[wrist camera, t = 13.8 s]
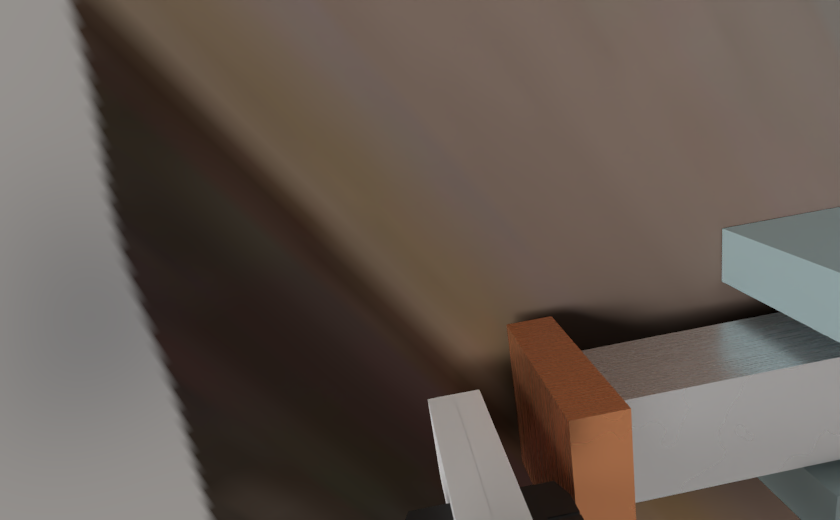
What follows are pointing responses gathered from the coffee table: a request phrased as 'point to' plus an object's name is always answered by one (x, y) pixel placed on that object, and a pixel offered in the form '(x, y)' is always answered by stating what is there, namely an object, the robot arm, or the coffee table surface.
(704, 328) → the ram
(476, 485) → the robot arm
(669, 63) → the coffee table surface
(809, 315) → the press
